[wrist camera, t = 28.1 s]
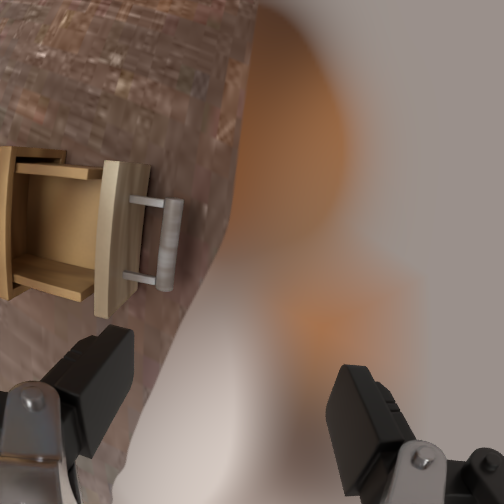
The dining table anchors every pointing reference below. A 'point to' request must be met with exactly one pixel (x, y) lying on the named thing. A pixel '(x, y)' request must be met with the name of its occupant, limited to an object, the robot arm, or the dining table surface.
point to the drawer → (88, 231)
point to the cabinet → (3, 167)
